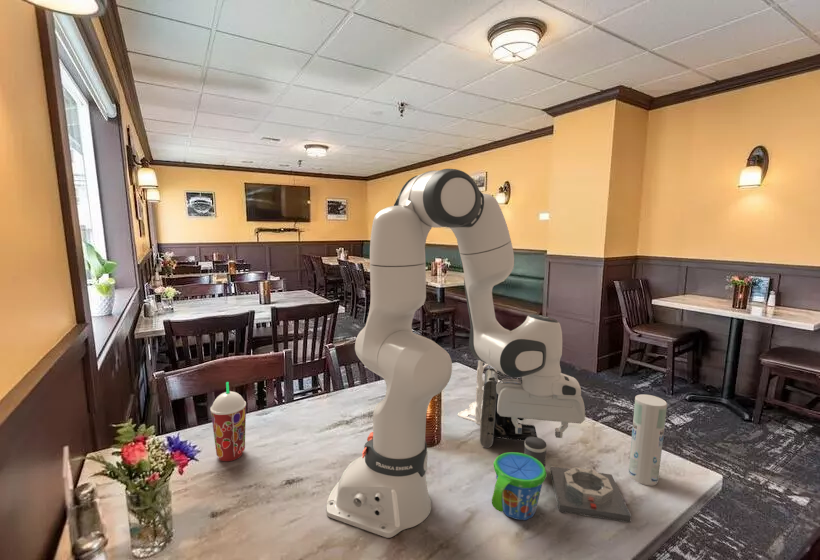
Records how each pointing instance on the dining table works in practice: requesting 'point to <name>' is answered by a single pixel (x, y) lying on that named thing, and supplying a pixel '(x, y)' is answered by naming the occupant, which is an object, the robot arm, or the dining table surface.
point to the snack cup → (517, 484)
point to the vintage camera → (498, 416)
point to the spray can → (647, 438)
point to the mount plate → (588, 493)
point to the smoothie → (229, 424)
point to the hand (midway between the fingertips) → (538, 434)
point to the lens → (536, 448)
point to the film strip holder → (476, 406)
